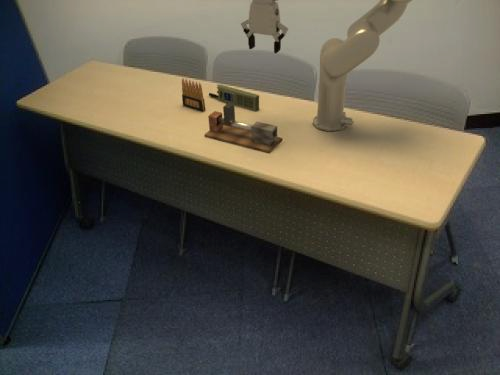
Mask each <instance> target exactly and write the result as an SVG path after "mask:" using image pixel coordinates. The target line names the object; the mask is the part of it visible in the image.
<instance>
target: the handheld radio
mask: <svg viewBox="0 0 500 375" xmlns="http://www.w3.org/2000/svg"><path fill="white" fill-rule="evenodd" d="M216 86H217V87H216V89H217V90H216V93H217V94H215V93H212V92H209V93H208V96H209V97H212V98H216V99H218V101H219V102H222V103H226V104H227V103H232V104H234V107H239V108H242V109H246V110H249V111H252V112H258V111H259V110H260V95H259V94H257V93H252V92H249V91H246V90H241V89H238V88H234V87H231V86H227V85H224V84H216Z"/></svg>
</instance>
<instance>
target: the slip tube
mask: <svg viewBox="0 0 500 375" xmlns="http://www.w3.org/2000/svg"><path fill="white" fill-rule="evenodd" d="M222 108H223V112H222V113H223V117H222V118H220V117H218V118H217V124H221V125H225V126H229V127H233V128H238V129H242V130H246V131H250V132H252V130H251V126H252V125H253V124H250V123H247V122H246V123H245V122H242V121H236V112H235V111H236V110H235V105H234V104H232V103H226V104H225V105H223V107H222Z"/></svg>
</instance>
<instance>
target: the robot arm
mask: <svg viewBox="0 0 500 375" xmlns="http://www.w3.org/2000/svg"><path fill="white" fill-rule="evenodd" d="M278 1H279V0H251V2H250V5H249V12H248V19H247V20H244V21H242V22H241V23H240V25H241V28H242V30H243V32H244V34H245V35H246V38H247V40H248V41H247V42H248V49H249V50H252V49H254V48H255V47H256V36H255V34H258V35H264V36H265V35H266V36H271V37H272V38H273V39H274V42H273V53H274V54H277V53H279V52H280V51H281V49H282V48H281V46H282V45H281V43H282V41H281V40H282V39H283V38H284V37H286V36H287V35H286V34H288V31H289V28H288V27H287V26H286V25H284V24H283V23H281V15H280V14H281V13H280V7H279V3H278ZM412 1H413V0H379V1H378V3H376V4H375V5H374V6H373V7H372V8H371V9H369V10H368V11H366V12H365V14H363V15H362V16H360V17H359V18H358V19H357V20H355V21H354V22H353V23H351V24H350V26H349V27H348V29H347V31H346V32H347V33H346V36H347V37H346V39H344V40H342V39H341V38H338V37H332V38H330V39H328V40H326V41H325V42H324V43H323V44H322V46H321V48H320V54H319V78H318V80H319V82H318V94H317V95H318V96H317V112H316V113H317V114H316V116H314V117H313V119H312V125H313V127H314V128H316V129H318V130H321V131H325V132H337V131H341V130H343V129H345V128H346V126H350V127H353V125H354V121H355V120H353V117H349V116H347V115H346V114H347V112H345V98H346V87H347V79H348V73H351V72H352V71H353V70H355V69H356V68H358V66H361V64H362V63H364V62H365V61H366V60H368V59H369V58H371V57H372V55H374V54H375V53H376V51H377V50H378V48H379V45H380V36H381V35H383V34H384V33H385V32H386V31H388V30H389V29H390V28H391V27H392V26H393V25H395V23H396V22H398V21H399V20H400V18H401V17H402V16H403V15H404V13H405V11H406V9H407V7H408V5H409V3H411V2H412ZM280 31H281V33H280Z"/></svg>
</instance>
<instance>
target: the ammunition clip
mask: <svg viewBox="0 0 500 375" xmlns="http://www.w3.org/2000/svg"><path fill="white" fill-rule="evenodd" d="M181 92H182V95H181V97H182V98H181V99H182V107H186V108H188V109H191V110H194V111H197V112H201V113H203V112H205V111H206V104H205V98H204V93H203V88H202V83H201V82H199V83H198V82H197V81H194V80H192V82H191V80H190V79H187V78H185V79H184V78H183V77H182V78H181Z"/></svg>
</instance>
